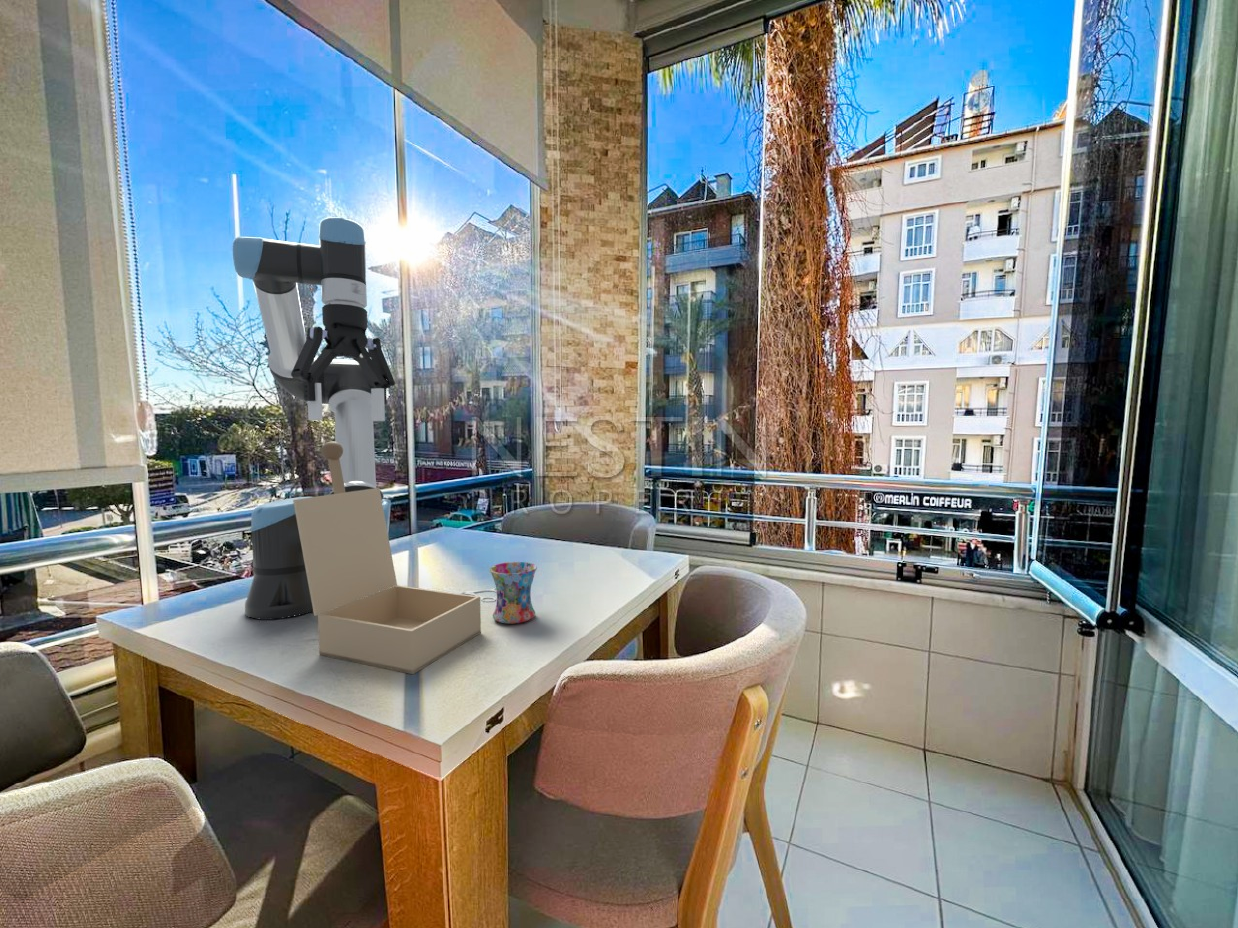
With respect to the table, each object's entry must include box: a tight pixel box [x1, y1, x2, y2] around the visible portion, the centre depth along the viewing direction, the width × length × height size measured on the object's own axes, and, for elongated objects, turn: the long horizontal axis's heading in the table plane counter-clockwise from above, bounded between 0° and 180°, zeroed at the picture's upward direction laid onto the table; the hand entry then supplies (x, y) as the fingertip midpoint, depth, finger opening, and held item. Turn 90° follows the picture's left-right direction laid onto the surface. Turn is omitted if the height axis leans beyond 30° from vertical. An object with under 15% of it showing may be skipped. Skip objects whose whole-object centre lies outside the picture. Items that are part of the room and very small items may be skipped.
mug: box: [489, 561, 538, 625], centre depth 109 cm, size 12×9×11 cm
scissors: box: [432, 587, 497, 603], centre depth 124 cm, size 11×1×20 cm
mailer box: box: [317, 584, 482, 675], centre depth 95 cm, size 20×18×7 cm
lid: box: [293, 440, 398, 617], centre depth 99 cm, size 30×18×4 cm
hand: (348, 420), depth 101 cm, fingers open, 13 cm apart
